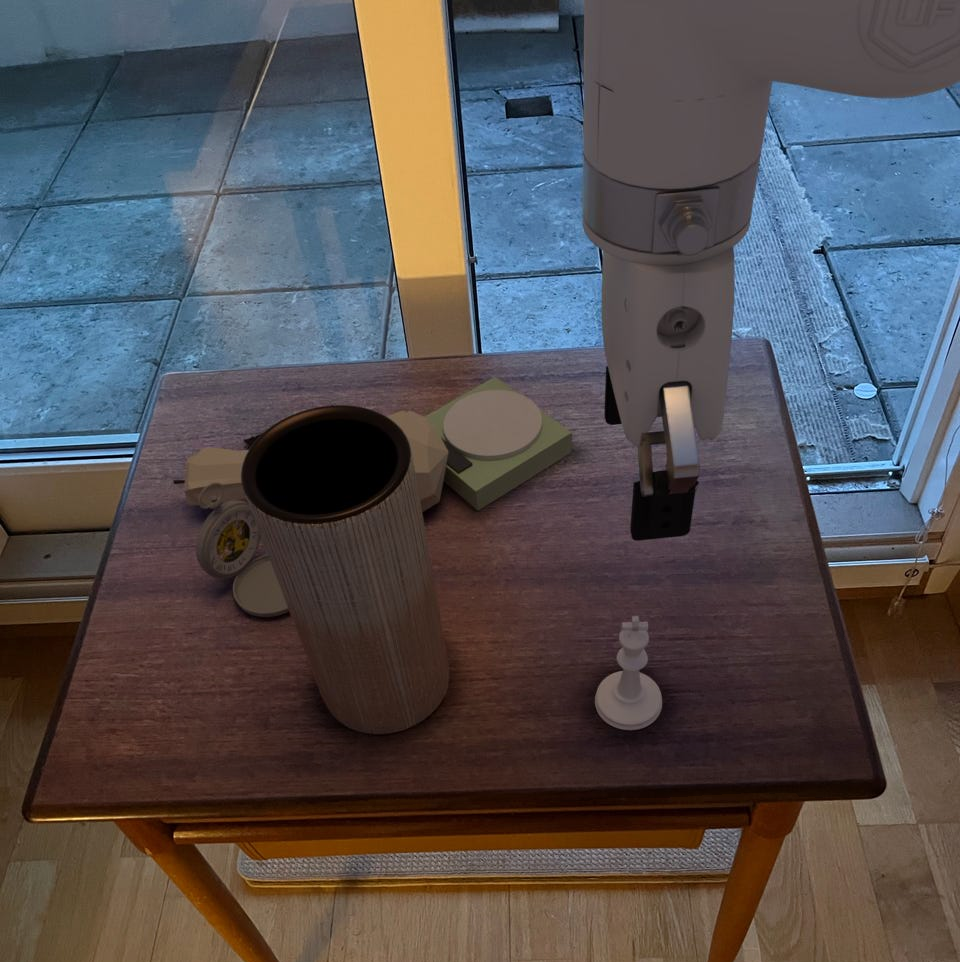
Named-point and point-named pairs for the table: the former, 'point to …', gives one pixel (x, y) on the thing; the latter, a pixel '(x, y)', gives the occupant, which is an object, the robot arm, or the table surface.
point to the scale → (496, 441)
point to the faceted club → (228, 463)
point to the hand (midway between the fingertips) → (644, 474)
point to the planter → (352, 562)
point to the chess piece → (630, 683)
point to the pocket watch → (238, 556)
